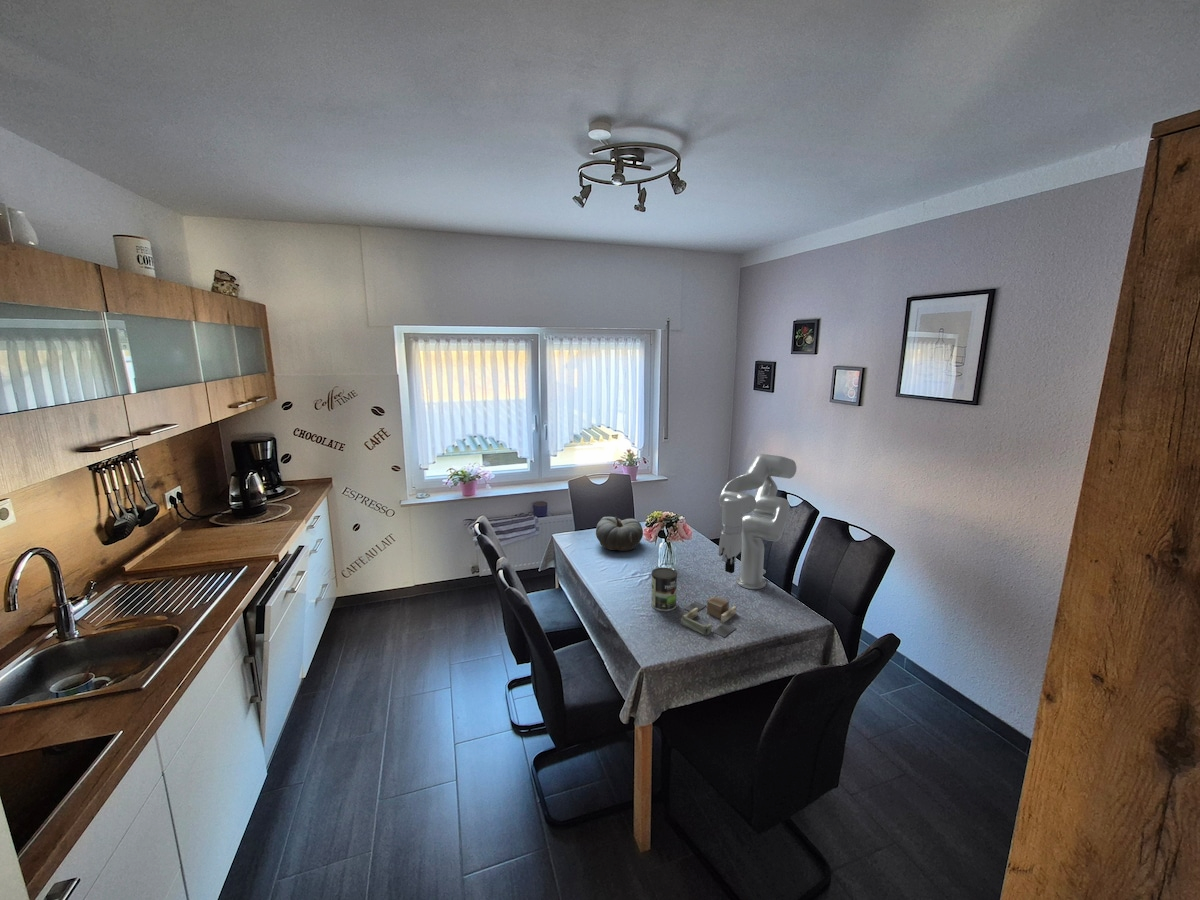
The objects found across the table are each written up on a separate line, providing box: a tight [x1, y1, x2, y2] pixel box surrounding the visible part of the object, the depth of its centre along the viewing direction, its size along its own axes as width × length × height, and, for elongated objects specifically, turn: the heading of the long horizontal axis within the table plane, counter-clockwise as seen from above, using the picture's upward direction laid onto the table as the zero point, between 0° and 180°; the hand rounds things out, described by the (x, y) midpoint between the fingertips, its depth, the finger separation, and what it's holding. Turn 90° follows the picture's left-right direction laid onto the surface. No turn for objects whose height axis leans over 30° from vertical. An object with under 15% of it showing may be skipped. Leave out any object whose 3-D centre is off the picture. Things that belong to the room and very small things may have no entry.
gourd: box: [595, 516, 644, 552], centre depth 254 cm, size 25×25×17 cm
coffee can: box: [651, 567, 678, 612], centre depth 194 cm, size 10×10×14 cm
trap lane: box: [680, 596, 737, 638], centre depth 184 cm, size 21×22×3 cm
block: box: [706, 596, 730, 620], centre depth 188 cm, size 6×6×5 cm
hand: (729, 571), depth 191 cm, fingers closed
